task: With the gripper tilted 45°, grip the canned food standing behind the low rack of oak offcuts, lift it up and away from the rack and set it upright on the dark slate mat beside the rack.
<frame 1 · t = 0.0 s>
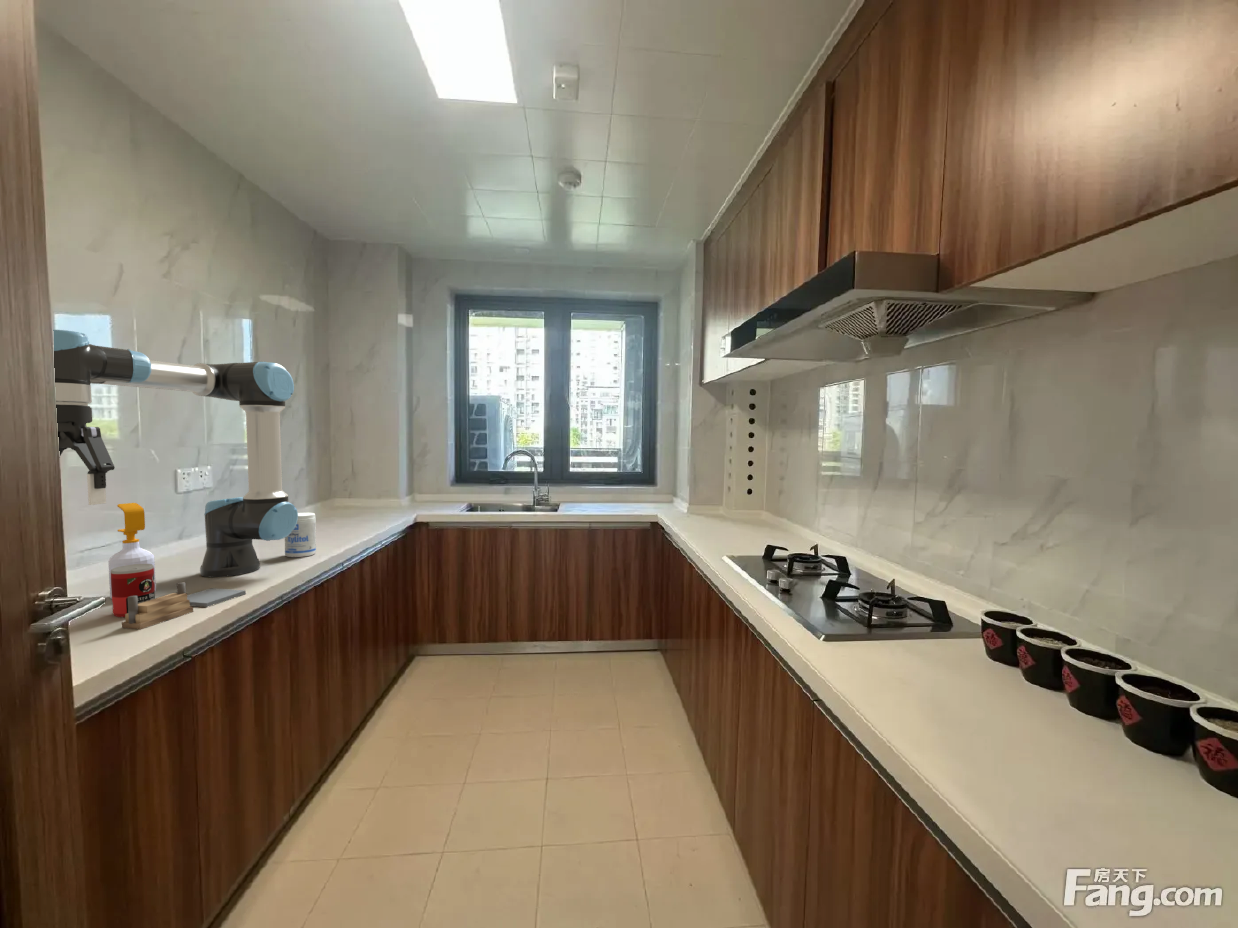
hand: (72, 503, 114), 28 cm above the countertop, tool pointing down, fingers open, 13 cm apart
soap bottle: (133, 595, 142), on the countertop
supplement tub: (301, 555, 190), on the countertop
slate mat: (209, 599, 138), on the countertop
canned food: (134, 613, 128), on the countertop
offcut rack: (159, 619, 123), on the countertop
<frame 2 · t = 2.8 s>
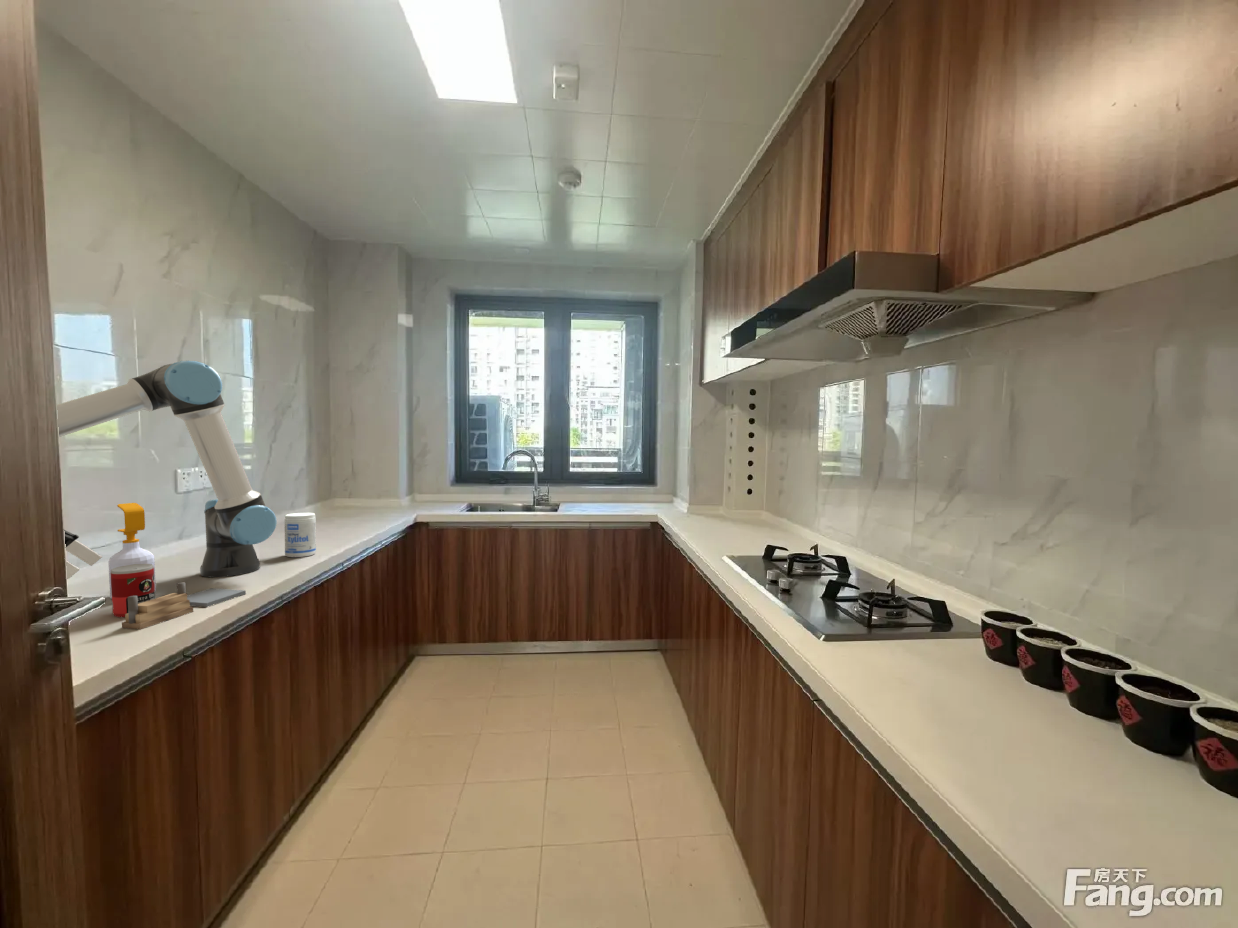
hand: (86, 567, 123), 12 cm above the countertop, tool tilted 45°, fingers open, 13 cm apart
nothing on the countertop moved.
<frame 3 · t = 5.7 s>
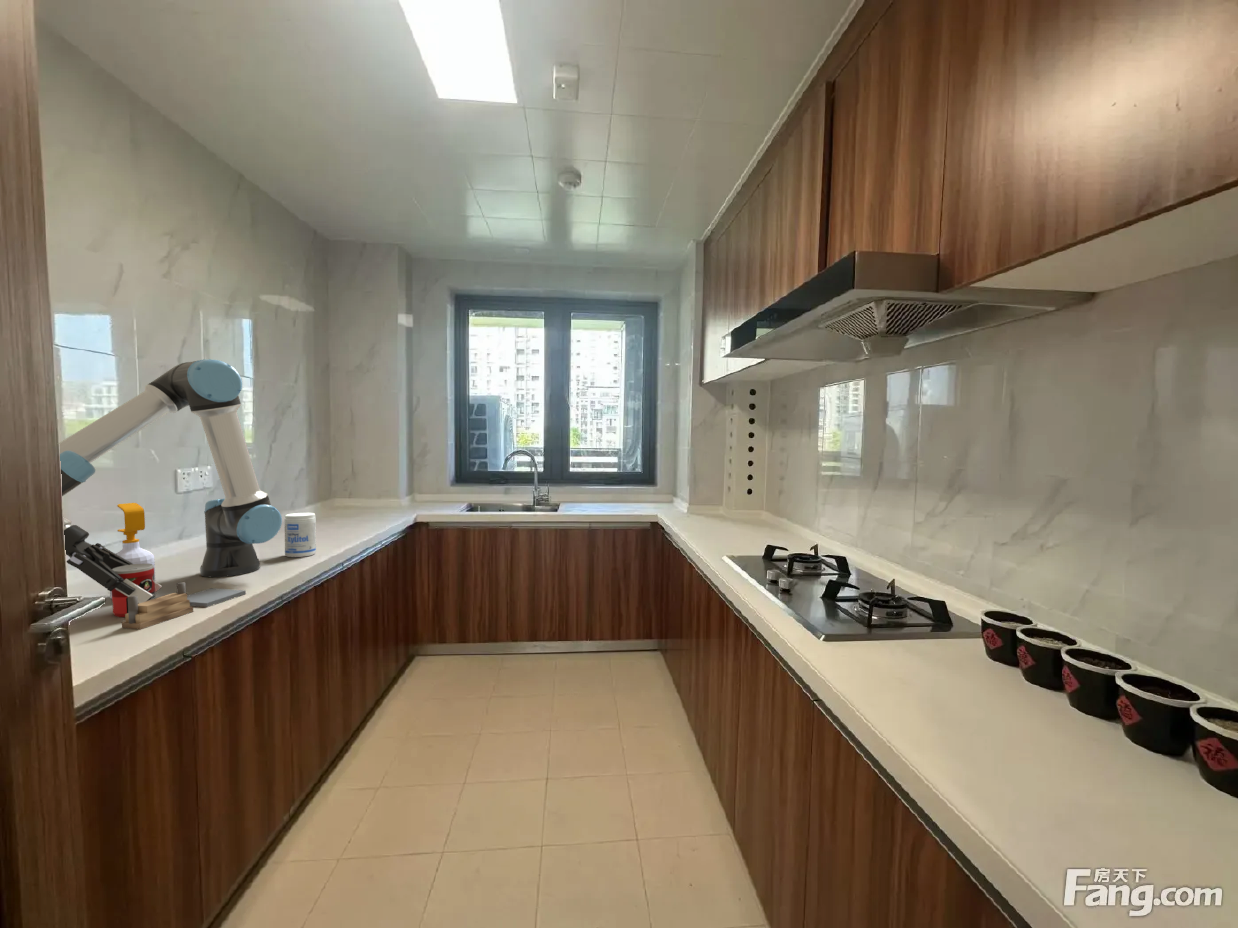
hand: (152, 595, 130), 4 cm above the countertop, tool tilted 45°, fingers closed on canned food, 8 cm apart
canned food: (134, 612, 128), on the countertop, touching gripper
everything else where it was.
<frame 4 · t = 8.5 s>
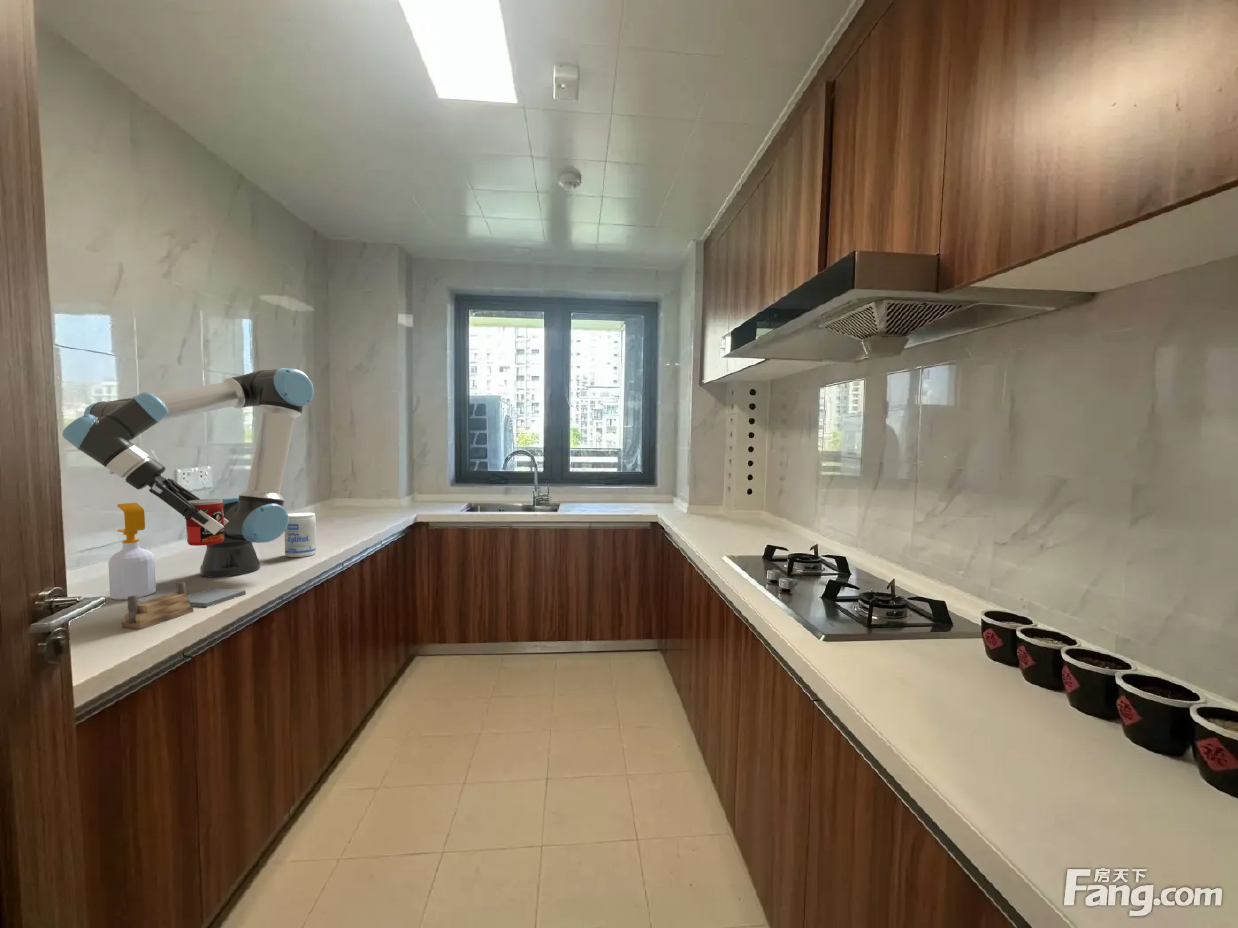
hand: (221, 527, 139), 18 cm above the countertop, tool tilted 45°, fingers closed on canned food, 8 cm apart
canned food: (206, 543, 138), point 15 cm above the countertop, touching gripper
everything else where it was.
when the fingers open (7 cm above the countertop, at t = 11.2 s): canned food drops 2 cm, resting on slate mat.
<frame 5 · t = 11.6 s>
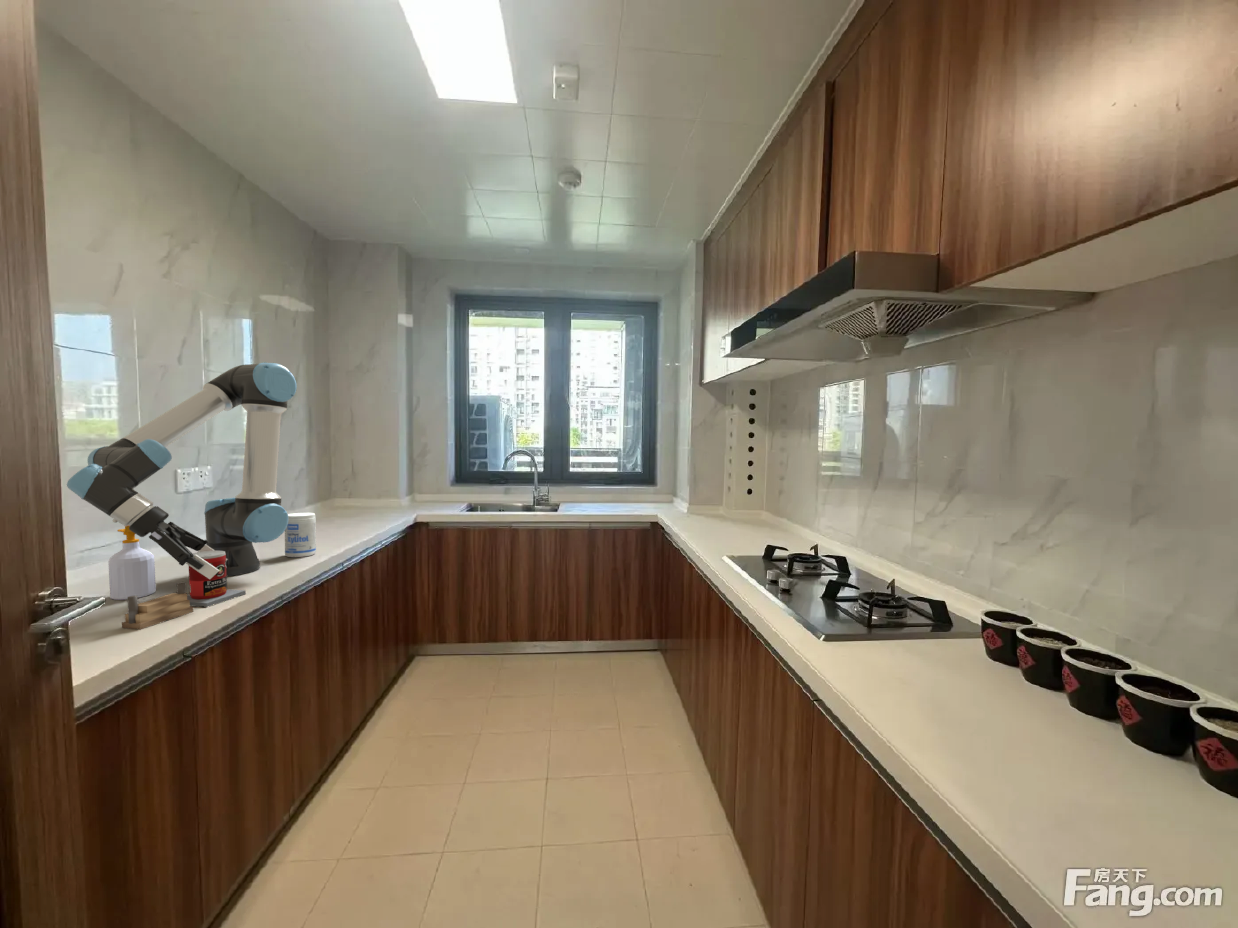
hand: (219, 569, 139), 8 cm above the countertop, tool tilted 45°, fingers open, 13 cm apart
canned food: (208, 595, 138), point 1 cm above the countertop, touching slate mat
everything else where it was.
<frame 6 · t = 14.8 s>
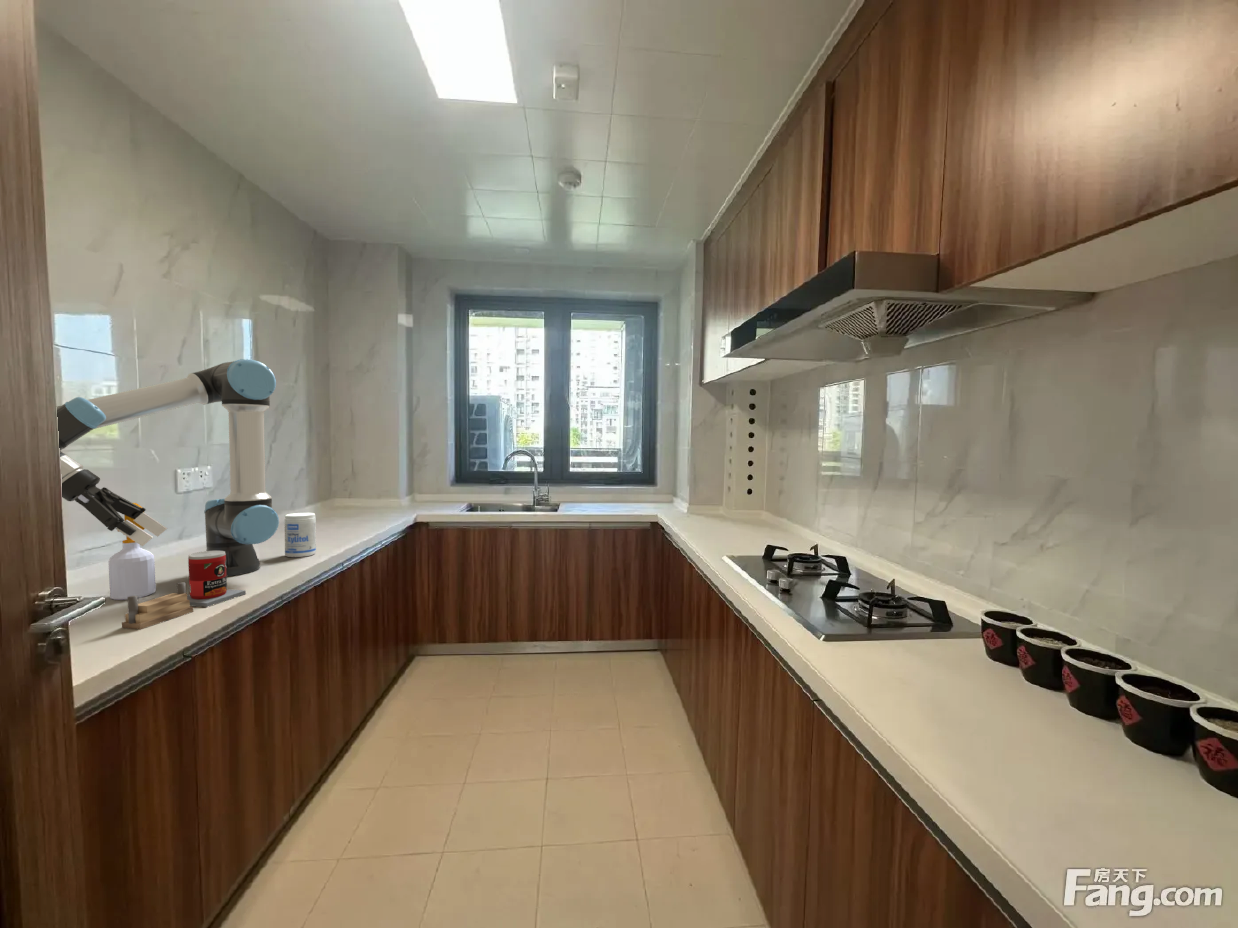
hand: (155, 537, 132), 17 cm above the countertop, tool tilted 45°, fingers open, 13 cm apart
nothing on the countertop moved.
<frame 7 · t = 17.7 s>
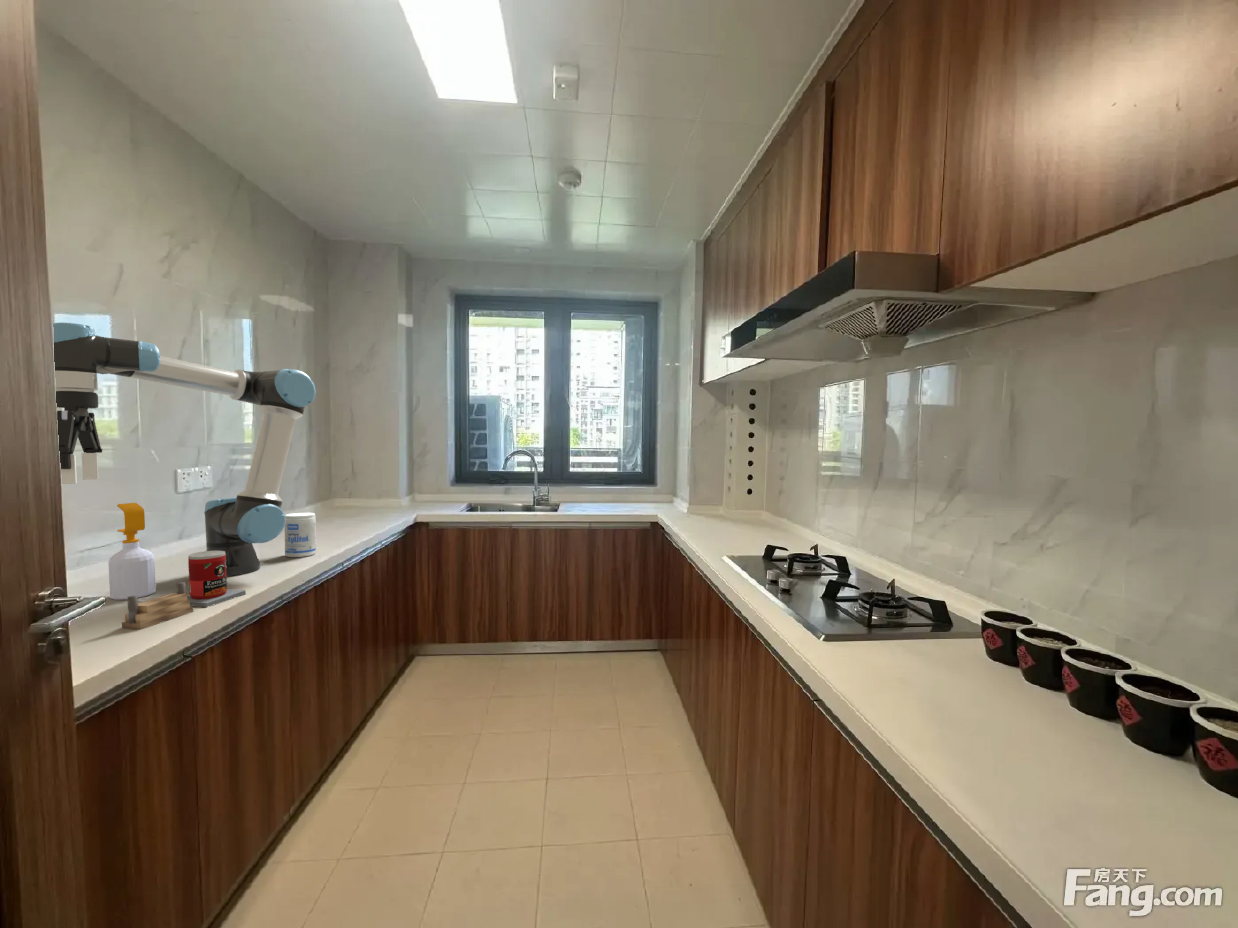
hand: (80, 481, 125), 32 cm above the countertop, tool pointing down, fingers open, 13 cm apart
nothing on the countertop moved.
at the end: canned food inside the target area on the slate mat (0.1 cm from its centre), point 0.8 cm above the slate mat's base; canned food tilted 0°; the gripper is holding nothing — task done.
